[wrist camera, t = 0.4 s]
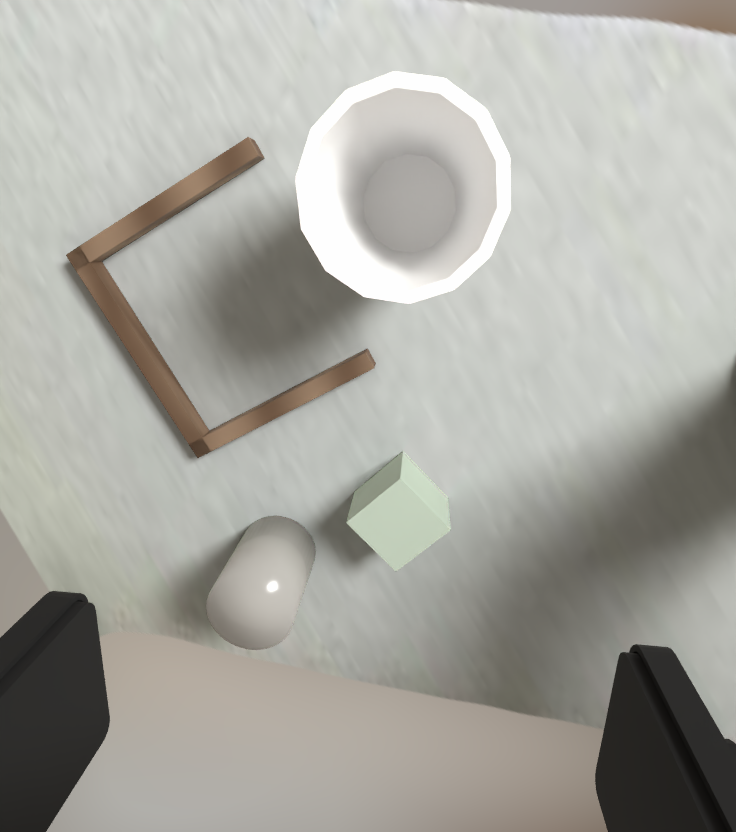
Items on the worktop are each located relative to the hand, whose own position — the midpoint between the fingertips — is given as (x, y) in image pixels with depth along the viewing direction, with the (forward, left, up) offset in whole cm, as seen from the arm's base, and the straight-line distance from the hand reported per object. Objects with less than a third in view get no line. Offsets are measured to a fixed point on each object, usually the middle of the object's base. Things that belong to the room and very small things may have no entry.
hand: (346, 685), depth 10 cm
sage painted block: (+6, +10, -32) cm, 34 cm away
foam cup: (-4, -8, -32) cm, 33 cm away
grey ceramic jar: (+17, +10, -32) cm, 37 cm away
